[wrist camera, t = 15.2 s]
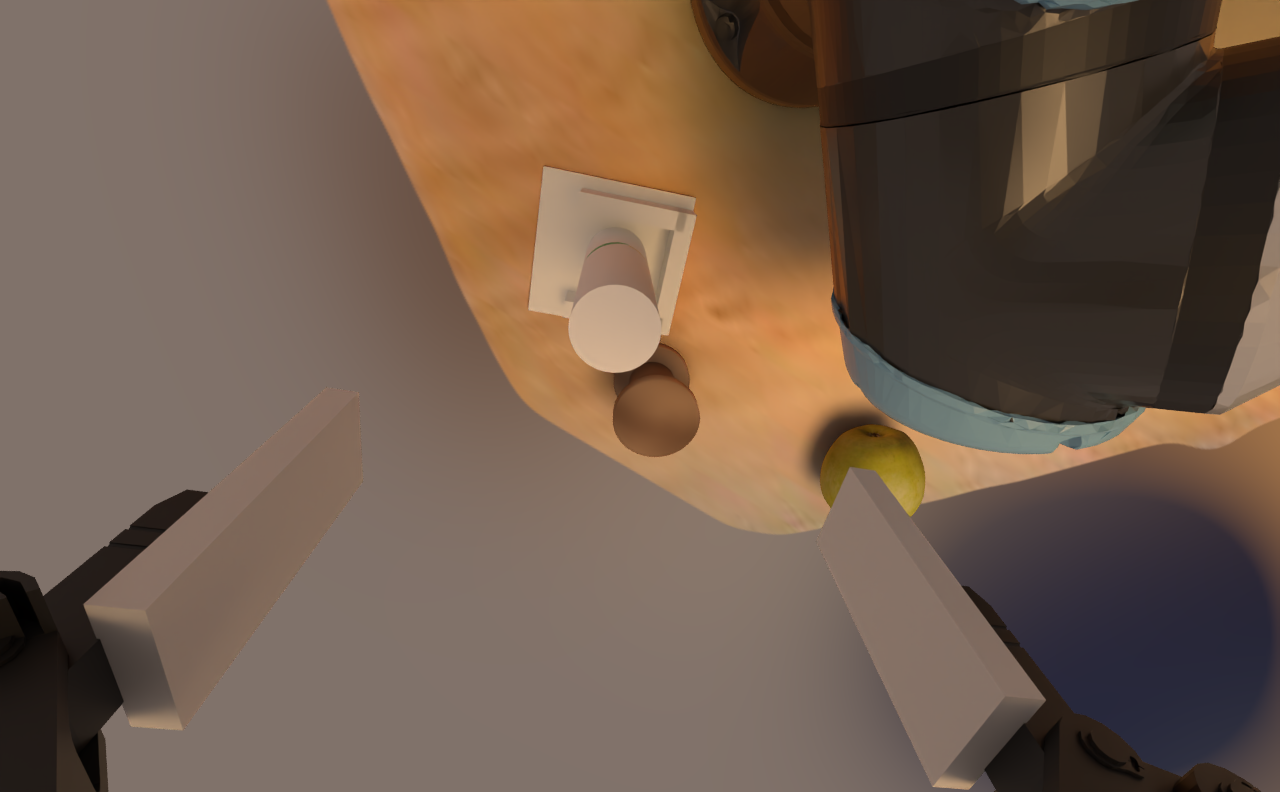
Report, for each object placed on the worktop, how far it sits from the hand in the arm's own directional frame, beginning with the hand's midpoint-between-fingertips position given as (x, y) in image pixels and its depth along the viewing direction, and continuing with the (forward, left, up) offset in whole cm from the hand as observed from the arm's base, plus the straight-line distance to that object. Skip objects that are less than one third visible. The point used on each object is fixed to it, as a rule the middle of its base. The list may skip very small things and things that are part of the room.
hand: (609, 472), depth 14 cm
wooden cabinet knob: (+9, +5, -27) cm, 29 cm away
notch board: (0, 0, -27) cm, 27 cm away
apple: (+13, +24, -27) cm, 38 cm away
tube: (0, 0, -26) cm, 26 cm away
